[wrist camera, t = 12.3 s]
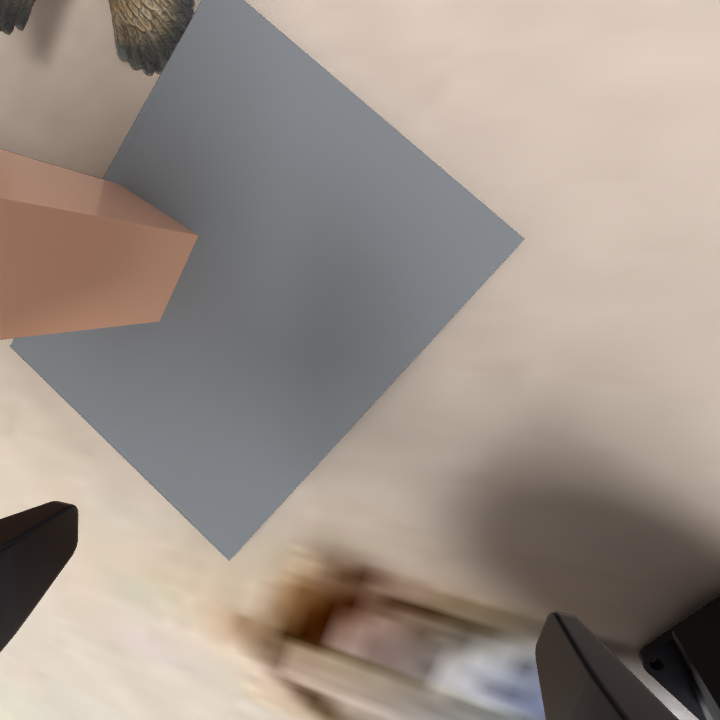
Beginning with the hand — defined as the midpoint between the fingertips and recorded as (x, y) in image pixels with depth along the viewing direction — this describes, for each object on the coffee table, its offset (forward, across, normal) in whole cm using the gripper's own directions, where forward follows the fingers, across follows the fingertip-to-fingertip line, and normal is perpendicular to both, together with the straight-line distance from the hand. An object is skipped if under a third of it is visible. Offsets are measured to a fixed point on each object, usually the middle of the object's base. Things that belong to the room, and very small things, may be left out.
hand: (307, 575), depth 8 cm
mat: (+13, +7, -2) cm, 14 cm away
